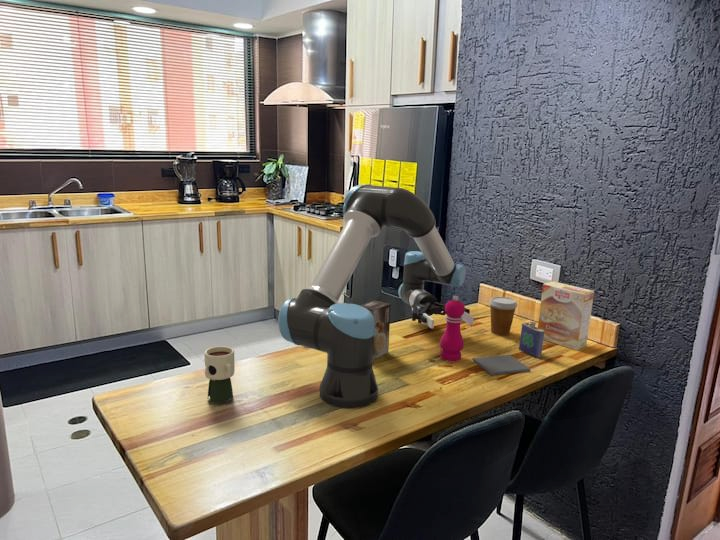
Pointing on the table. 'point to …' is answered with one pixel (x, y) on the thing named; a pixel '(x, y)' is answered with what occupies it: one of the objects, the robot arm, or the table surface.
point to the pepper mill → (452, 331)
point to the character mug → (219, 373)
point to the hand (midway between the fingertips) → (452, 322)
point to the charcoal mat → (500, 364)
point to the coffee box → (380, 326)
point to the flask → (531, 339)
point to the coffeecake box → (565, 314)
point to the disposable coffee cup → (502, 314)
